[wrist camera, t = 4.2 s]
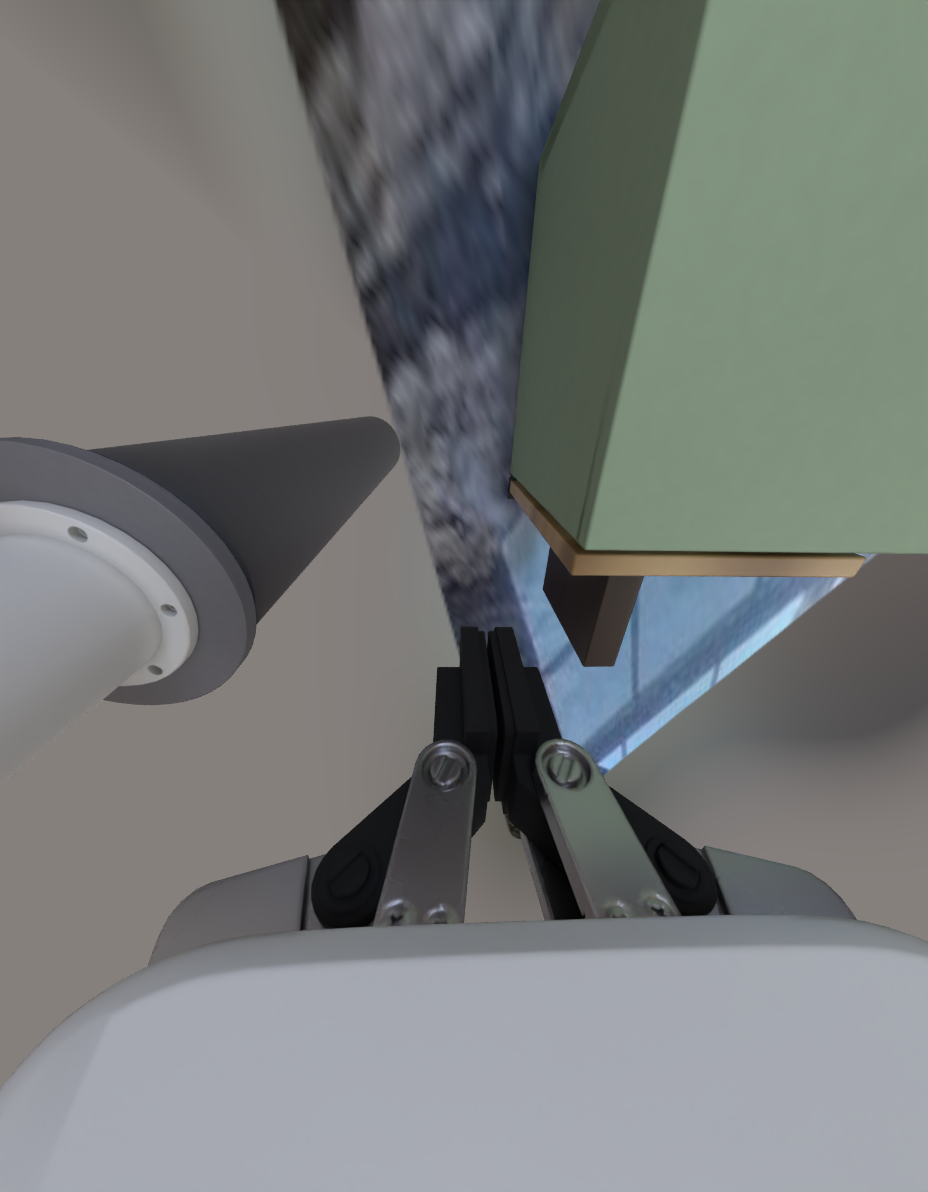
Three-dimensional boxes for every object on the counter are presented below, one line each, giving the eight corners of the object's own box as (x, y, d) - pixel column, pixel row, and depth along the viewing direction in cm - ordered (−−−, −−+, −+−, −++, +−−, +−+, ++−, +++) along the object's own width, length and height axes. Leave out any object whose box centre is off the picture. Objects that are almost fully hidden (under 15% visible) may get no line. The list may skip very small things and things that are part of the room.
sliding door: (503, 556, 21) (549, 677, 12) (510, 480, 19) (575, 554, 9) (638, 557, 22) (788, 674, 12) (661, 483, 19) (869, 557, 10)
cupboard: (507, 497, 20) (574, 596, 10) (539, 159, 13) (871, -727, 3) (789, 503, 21) (1126, 598, 11) (949, 191, 14) (2293, -386, 4)
